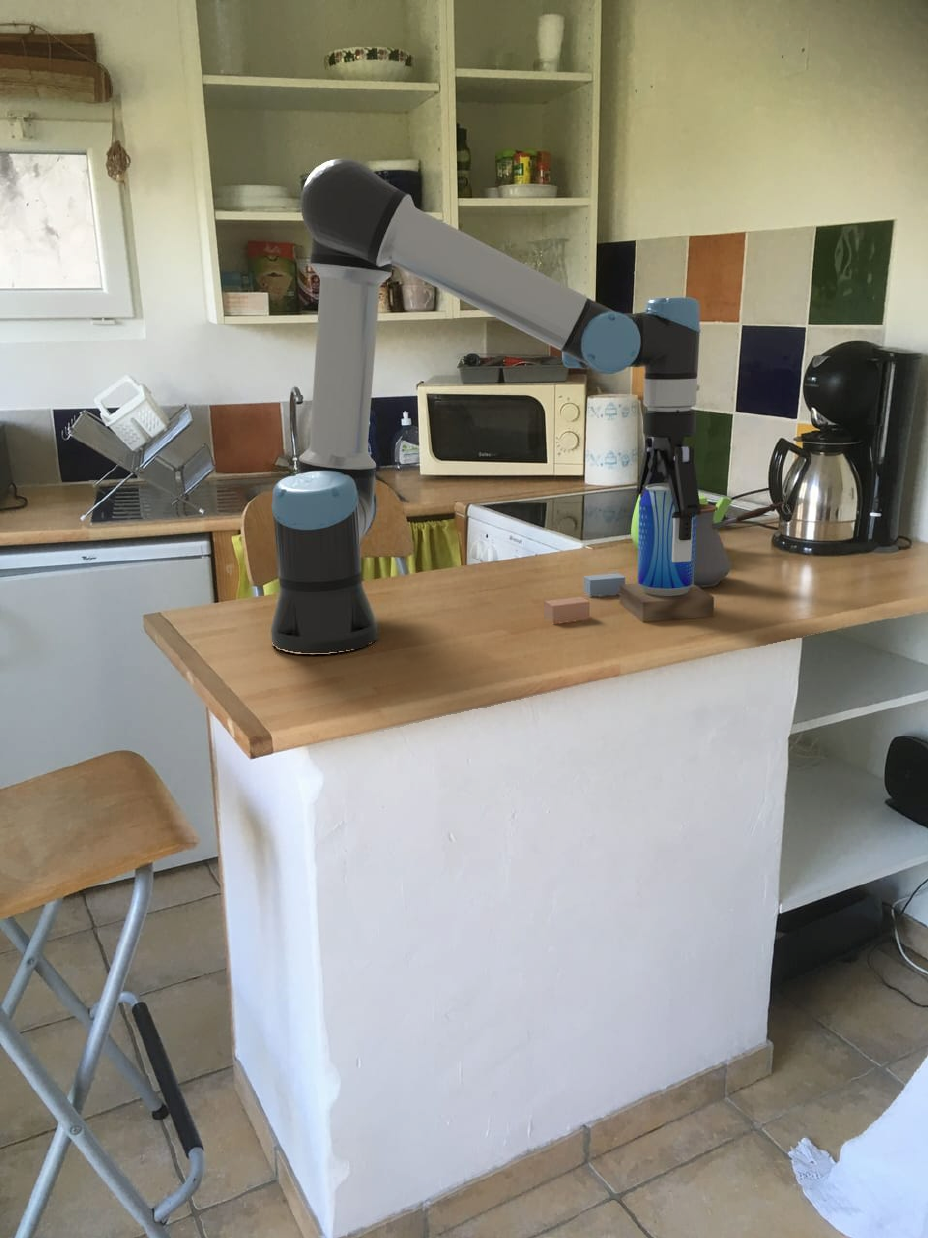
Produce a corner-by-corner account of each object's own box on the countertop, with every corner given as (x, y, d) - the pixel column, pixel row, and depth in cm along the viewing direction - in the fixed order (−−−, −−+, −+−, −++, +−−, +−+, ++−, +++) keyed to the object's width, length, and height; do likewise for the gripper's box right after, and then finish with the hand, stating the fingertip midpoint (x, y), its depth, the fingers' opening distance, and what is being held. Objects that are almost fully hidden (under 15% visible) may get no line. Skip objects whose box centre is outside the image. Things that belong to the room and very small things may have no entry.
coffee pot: (648, 584, 172) (649, 496, 167) (681, 571, 180) (684, 486, 176) (768, 603, 158) (773, 507, 154) (798, 587, 166) (804, 496, 162)
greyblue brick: (590, 598, 165) (590, 580, 164) (583, 593, 168) (583, 576, 167) (624, 595, 166) (625, 577, 165) (618, 590, 169) (618, 573, 168)
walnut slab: (642, 621, 150) (643, 602, 150) (619, 603, 161) (619, 584, 160) (713, 616, 152) (714, 596, 151) (685, 597, 162) (686, 579, 162)
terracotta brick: (552, 625, 151) (552, 606, 150) (544, 620, 154) (544, 601, 153) (589, 620, 153) (589, 601, 152) (580, 615, 155) (580, 596, 155)
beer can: (689, 599, 150) (693, 491, 146) (633, 595, 153) (634, 490, 149) (696, 585, 158) (700, 482, 154) (642, 582, 161) (644, 481, 156)
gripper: (729, 414, 137) (721, 568, 143) (664, 401, 160) (659, 534, 166) (676, 416, 136) (670, 571, 141) (618, 403, 159) (615, 536, 165)
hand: (664, 551), depth 154 cm, fingers open, 13 cm apart
